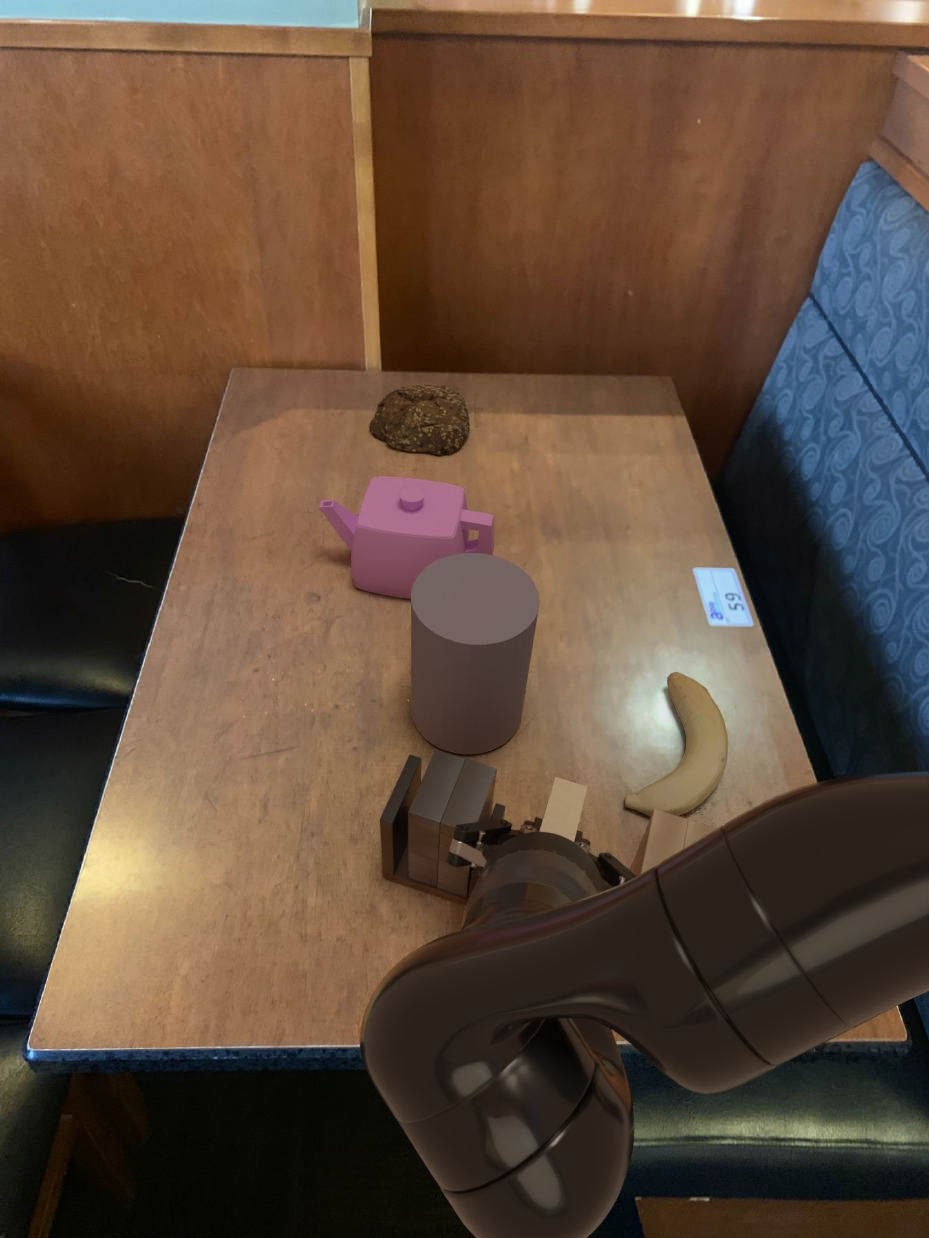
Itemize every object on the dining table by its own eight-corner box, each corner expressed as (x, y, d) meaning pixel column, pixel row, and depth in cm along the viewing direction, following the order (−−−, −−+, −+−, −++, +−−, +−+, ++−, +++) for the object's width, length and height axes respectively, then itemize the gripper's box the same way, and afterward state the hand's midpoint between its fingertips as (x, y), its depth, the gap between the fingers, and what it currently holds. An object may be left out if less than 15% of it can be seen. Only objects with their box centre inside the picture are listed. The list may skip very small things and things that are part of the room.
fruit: (738, 710, 80) (748, 688, 78) (703, 840, 70) (713, 820, 68) (665, 684, 82) (672, 662, 79) (620, 808, 72) (627, 787, 70)
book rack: (695, 907, 66) (738, 831, 58) (684, 981, 62) (728, 911, 54) (409, 814, 71) (409, 730, 62) (382, 877, 67) (378, 797, 58)
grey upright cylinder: (404, 751, 75) (403, 638, 64) (417, 662, 82) (418, 548, 71) (520, 761, 75) (539, 650, 64) (523, 671, 82) (540, 558, 71)
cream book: (563, 862, 67) (588, 786, 60) (546, 926, 64) (570, 854, 56) (534, 853, 68) (555, 776, 60) (516, 916, 64) (535, 843, 56)
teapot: (313, 590, 88) (305, 514, 81) (337, 525, 95) (331, 450, 88) (485, 612, 87) (492, 537, 80) (496, 545, 94) (503, 470, 87)
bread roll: (471, 403, 114) (473, 370, 110) (467, 459, 105) (470, 424, 101) (376, 397, 113) (375, 364, 110) (364, 452, 105) (363, 418, 101)
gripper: (679, 895, 45) (660, 817, 62) (434, 815, 48) (480, 761, 65) (640, 1026, 46) (632, 913, 63) (399, 941, 48) (454, 854, 65)
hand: (555, 836), depth 64 cm, fingers closed on cream book, 2 cm apart
